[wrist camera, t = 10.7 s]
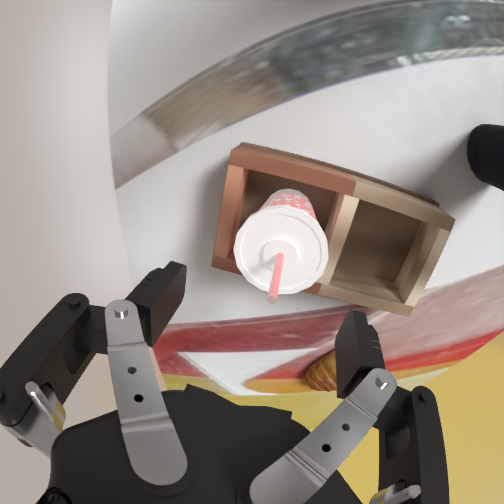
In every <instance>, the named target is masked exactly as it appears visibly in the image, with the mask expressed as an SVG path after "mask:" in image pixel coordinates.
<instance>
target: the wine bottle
mask: <svg viewBox="0 0 504 504" xmlns="http://www.w3.org/2000/svg"><path fill="white" fill-rule="evenodd" d="M467 152H468V160H469V163H470V166H471V169H472V171H473V172H474V174H475V175H476V176H477V177H478V178H479V179H480V180H481V181H483V182H486V183H488V184H490V185H492V186H494V187H497V188H499V189H501V190H503V191H504V126H500V125H491V124H481V125H479V126H478V127H476V128H475V129H474V130H473V132H472V133H471V135H470V138H469V141H468V149H467Z"/></svg>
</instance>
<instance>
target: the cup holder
mask: <svg viewBox="0 0 504 504" xmlns="http://www.w3.org/2000/svg"><path fill="white" fill-rule="evenodd" d="M282 189H293V190H297V191H300V192H301V193H302V194H304V195H305V196H306V197H307V198H308V200H309V201H310V203H311V205H312V207H313V210H314V213H315V216H316V219H317V221H318V223H319V225H320V227H321V228H322V230H323V232H324V234H325V236H326V239H327V244H328V258H329V259H328V262H327V264H326V267H325V269H324V272H323V275H322V276H321V277H320V278H319V279H318V280H317V281H316V282H315V283H314V284H313V285H312V286H311V287H308V288H306V289H304V290H302V291H305V292H309V293H313V294H317V295H321V296H325V297H329V298H333V299H337V300H341V301H345V302H349V303H353V304H357V305H361V306H366V307H370V308H374V309H378V310H382V311H387V312H391V313H395V314H400V315H404V316H409V315H410V313H411V312H412V310H413V308H414V306H415V305H416V303H417V301H418V299H419V297H420V296H421V294H422V292H423V290H424V288H425V286H426V284H427V282H428V280H429V278H430V276H431V274H432V272H433V270H434V268H435V266H436V264H437V262H438V260H439V258H440V255H441V253H442V251H443V249H444V246H445V244H446V242H447V239H448V237H449V235H450V232H451V230H452V227H453V225H454V222H455V219H454V218H453V217H451V216H450V215H449V214H447V213H446V212H444V211H443V210H442V209H440V208H439V205H440V204H439V203H437V202H436V201H434V200H431V199H429V198H426V197H424V196H422V195H419V194H417V193H414V192H412V191H409V190H406V189H404V188H401V187H399V186H396V185H393V184H391V183H388V182H385V181H382V180H379V179H377V178H374V177H371V176H368V175H365V174H362V173H359V172H356V171H353V170H349V169H346V168H343V167H340V166H336V165H333V164H330V163H326V162H323V161H319V160H316V159H312V158H308V157H305V156H301V155H297V154H293V153H289V152H285V151H281V150H277V149H272V148H268V147H264V146H259V145H254V144H250V143H245V142H242V143H241V144H240V147H238V148H235V149H232V150H231V153H230V159H229V164H228V169H227V175H226V180H225V186H224V192H223V197H222V203H221V209H220V215H219V221H218V227H217V233H216V240H215V246H214V252H213V259H212V266H211V267H215V268H219V269H222V270H226V271H229V272H233V273H237V274H240V275H243V274H242V273H241V271H240V270H239V268H238V267H237V264H236V259H235V255H234V245H235V240H236V235H237V232H238V231H239V230H240V228H241V227H242V226H243V224H244V223H245V222H246V220H247V219H248V218H249V216H250V215H252V214H254V213H256V212H257V211H259V210H260V208H261V207H262V206H263V205H264V203H265V202H266V201H267V200H268V198H269V197H270V196H271V195H272V194H273V193H275V192H277V191H279V190H282Z"/></svg>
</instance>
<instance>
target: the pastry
mask: <svg viewBox="0 0 504 504" xmlns="http://www.w3.org/2000/svg"><path fill="white" fill-rule="evenodd" d="M305 377H306V382H307V383H308V385H309V387H310V388H311V389H313V390H317V391H328V392H330V391H332V390H336V391H337V380H336V357H335V350H333V351H331V352H330V353H328V354H327V355H325V356H323V357H322V358H321V359H320V360H318V361H317V362H315V363H314V364H313V365H311V366H310V368H309V369H308V370H307V372H306V375H305Z"/></svg>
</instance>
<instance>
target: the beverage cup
mask: <svg viewBox="0 0 504 504" xmlns="http://www.w3.org/2000/svg"><path fill="white" fill-rule="evenodd" d="M234 255H235V259H236V264H237V267H238V268H239V270H240V271H241V273H242V274H243V276H244V277H245V278H246V280H247V281H249V282H250V283H252V284H253V285H254V286H256V287H257V288H259V289H260V290H263V291H267V292H268V297H267V301H268V302H269V303H271V304H274V303H276V301H277V296H278V294H293V293H297V292H299V291H302V290H304V289H306V288H308V287H311V286H312V285H313V284H314V283H315V282H316V281H317V280H318V279H319V278H320V277H321V276H322V275H323V272H324V269H325V267H326V264H327V262H328V259H329V258H328V244H327V239H326V236H325V234H324V232H323V230H322V228H321V227H320V225H319V223H318V221H317V219H316V216H315V213H314V210H313V207H312V205H311V203H310V201H309V200H308V198H307V197H306V196H305V195H304V194H302V193H301V192H300V191H297V190H293V189H282V190H279V191H277V192H275V193H273V194H272V195H271V196H270V197H269V198H268V200H267V201H266V202H265V203H264V205H263V206H262V207H261V208H260V210H259V211H257V212H256V213H254V214H252V215H250V216H249V218H248V219H247V220H246V222H245V223H244V224H243V226H242V227H241V228H240V230H239V231H238V232H237V235H236V240H235V245H234Z"/></svg>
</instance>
